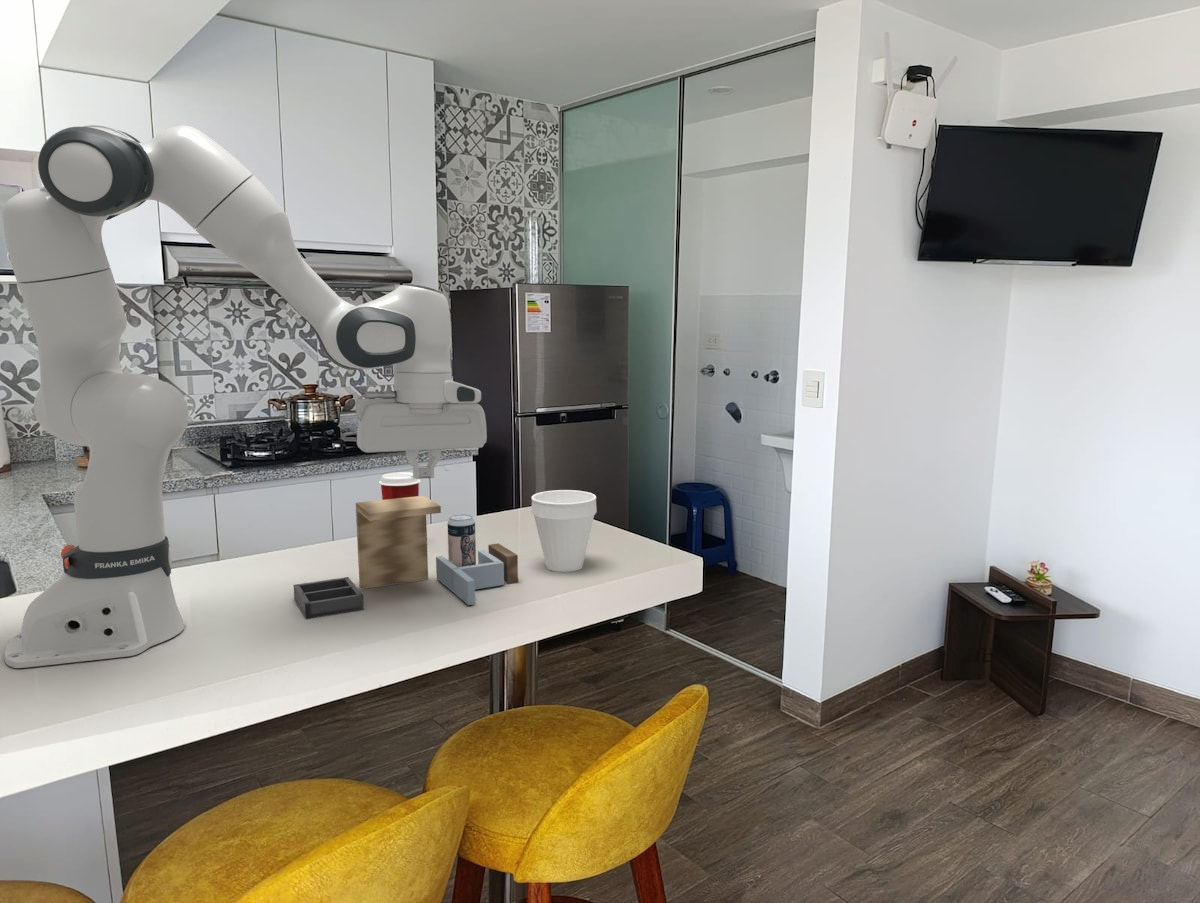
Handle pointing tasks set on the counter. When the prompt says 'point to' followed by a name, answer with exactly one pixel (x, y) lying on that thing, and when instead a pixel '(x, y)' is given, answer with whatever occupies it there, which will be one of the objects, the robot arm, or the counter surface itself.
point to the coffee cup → (399, 485)
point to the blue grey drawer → (470, 575)
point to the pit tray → (328, 597)
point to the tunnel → (393, 540)
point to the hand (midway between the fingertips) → (423, 478)
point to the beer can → (461, 540)
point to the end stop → (506, 561)
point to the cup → (564, 526)
